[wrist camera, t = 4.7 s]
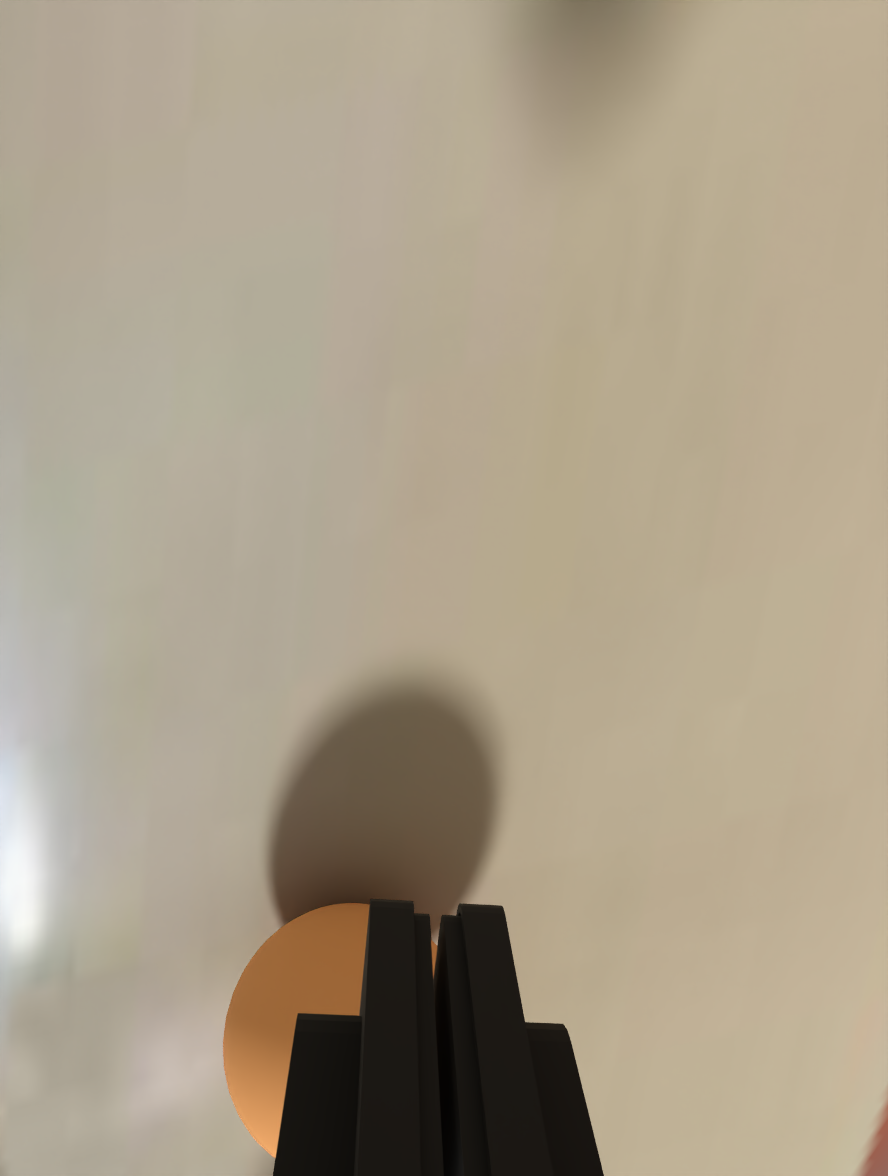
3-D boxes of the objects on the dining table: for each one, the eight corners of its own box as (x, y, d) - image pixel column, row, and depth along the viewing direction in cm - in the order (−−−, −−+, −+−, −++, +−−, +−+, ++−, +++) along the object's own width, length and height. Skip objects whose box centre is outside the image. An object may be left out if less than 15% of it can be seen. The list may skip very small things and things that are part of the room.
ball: (247, 851, 22) (202, 1033, 16) (465, 860, 23) (495, 1038, 17) (240, 1025, 24) (197, 1244, 18) (442, 1029, 24) (462, 1242, 19)
